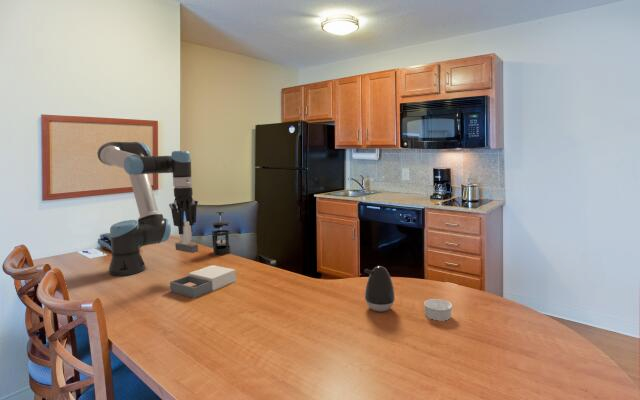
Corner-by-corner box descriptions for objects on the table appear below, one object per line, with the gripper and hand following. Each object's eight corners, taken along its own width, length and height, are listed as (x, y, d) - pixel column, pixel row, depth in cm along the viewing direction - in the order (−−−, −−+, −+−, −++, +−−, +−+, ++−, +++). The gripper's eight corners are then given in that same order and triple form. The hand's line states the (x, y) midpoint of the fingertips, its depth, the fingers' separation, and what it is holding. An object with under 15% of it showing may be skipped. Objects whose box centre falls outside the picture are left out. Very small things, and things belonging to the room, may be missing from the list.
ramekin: (445, 325, 115) (445, 312, 115) (419, 317, 121) (419, 304, 121) (456, 315, 122) (456, 303, 121) (430, 308, 128) (431, 296, 127)
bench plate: (189, 284, 154) (188, 273, 153) (212, 275, 165) (212, 265, 164) (212, 290, 146) (212, 278, 146) (235, 281, 157) (235, 269, 157)
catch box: (170, 291, 146) (169, 281, 146) (188, 284, 154) (188, 275, 153) (194, 298, 139) (193, 288, 138) (212, 290, 146) (211, 281, 146)
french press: (235, 252, 204) (233, 211, 201) (222, 256, 196) (220, 213, 194) (220, 249, 211) (218, 209, 208) (207, 253, 203) (205, 212, 200)
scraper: (175, 249, 163) (173, 221, 161) (181, 248, 165) (179, 219, 164) (192, 253, 157) (190, 223, 156) (198, 251, 160) (196, 222, 158)
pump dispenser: (361, 303, 132) (361, 262, 131) (389, 302, 133) (390, 261, 131) (367, 315, 122) (367, 271, 120) (398, 314, 123) (398, 270, 121)
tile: (189, 282, 148) (189, 288, 148) (179, 285, 144) (180, 291, 144) (196, 284, 145) (197, 290, 146) (187, 287, 141) (187, 294, 142)
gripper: (173, 188, 149) (176, 245, 152) (203, 185, 163) (205, 237, 165) (161, 188, 153) (165, 243, 156) (191, 185, 166) (194, 236, 169)
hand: (186, 240), depth 161 cm, fingers closed on scraper, 2 cm apart
